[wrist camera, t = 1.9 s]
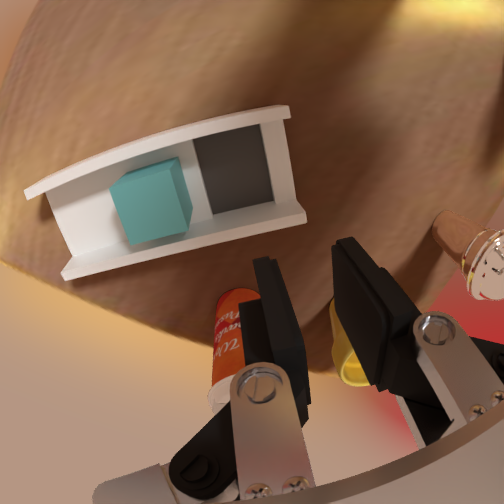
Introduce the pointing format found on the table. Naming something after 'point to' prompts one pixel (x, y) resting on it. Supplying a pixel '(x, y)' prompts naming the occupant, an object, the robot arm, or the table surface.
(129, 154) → the trap channel
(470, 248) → the cup with straw
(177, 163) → the teal block
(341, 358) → the plant pot
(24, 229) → the table surface
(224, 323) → the paper cup
